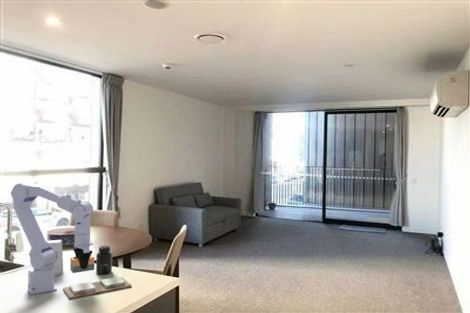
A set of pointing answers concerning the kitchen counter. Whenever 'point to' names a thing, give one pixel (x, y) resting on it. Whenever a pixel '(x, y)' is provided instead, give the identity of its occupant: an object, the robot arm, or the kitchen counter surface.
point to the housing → (76, 263)
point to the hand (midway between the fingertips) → (82, 266)
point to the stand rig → (96, 287)
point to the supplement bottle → (104, 261)
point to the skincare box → (59, 263)
